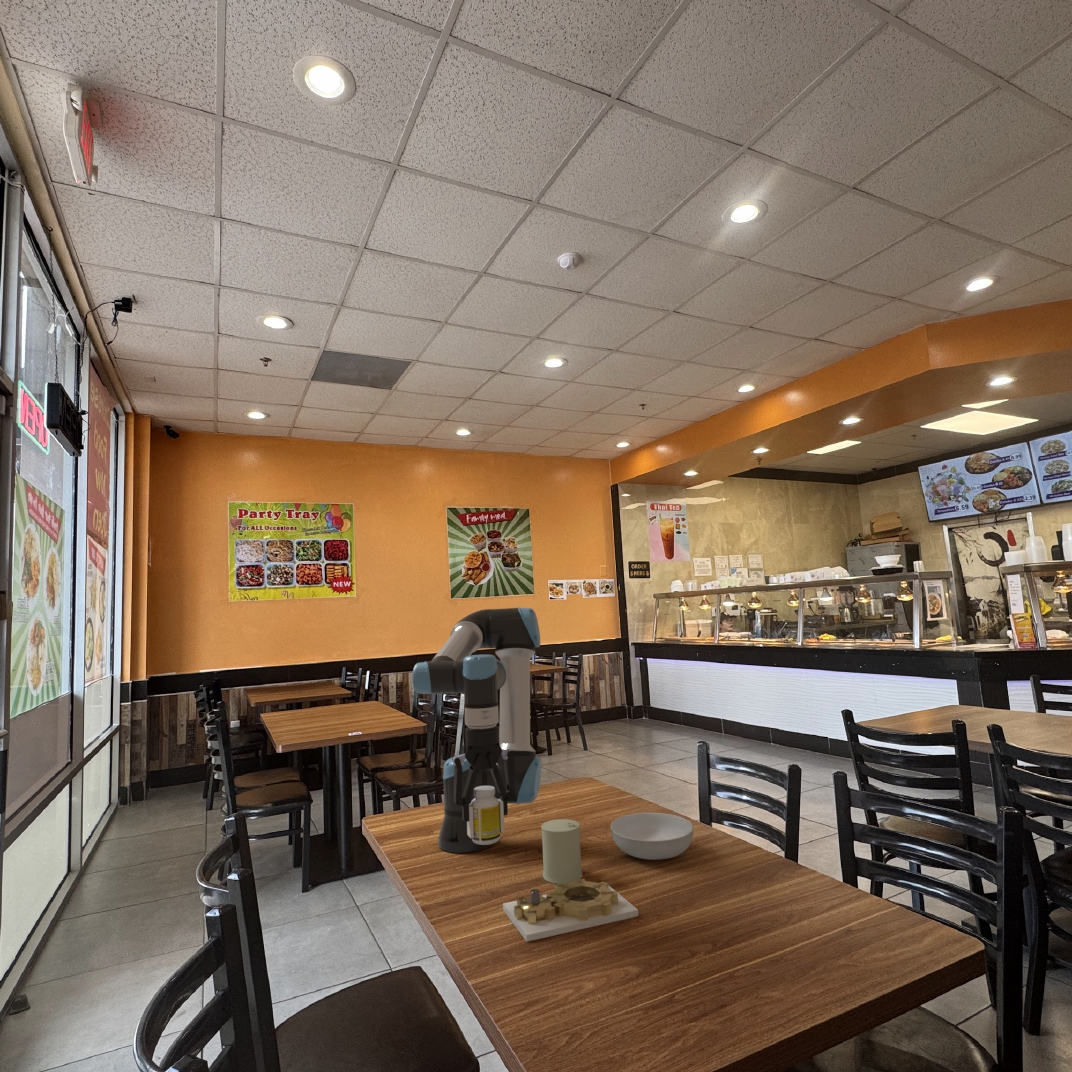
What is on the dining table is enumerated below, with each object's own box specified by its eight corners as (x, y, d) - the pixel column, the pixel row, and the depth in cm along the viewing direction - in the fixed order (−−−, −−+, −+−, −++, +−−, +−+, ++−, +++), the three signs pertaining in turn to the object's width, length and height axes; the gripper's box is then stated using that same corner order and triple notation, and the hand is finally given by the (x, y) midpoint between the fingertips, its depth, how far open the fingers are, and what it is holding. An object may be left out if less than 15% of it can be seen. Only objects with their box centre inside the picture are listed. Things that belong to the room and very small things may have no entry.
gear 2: (538, 896, 142) (537, 887, 142) (598, 884, 147) (597, 875, 147) (563, 925, 129) (563, 914, 129) (629, 911, 134) (628, 900, 134)
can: (579, 885, 150) (576, 830, 152) (539, 883, 152) (537, 829, 153) (584, 869, 159) (582, 817, 161) (547, 867, 161) (544, 816, 162)
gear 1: (509, 909, 137) (508, 887, 137) (548, 901, 140) (547, 879, 140) (522, 927, 129) (521, 903, 130) (563, 918, 132) (562, 894, 133)
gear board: (503, 909, 140) (502, 903, 140) (605, 888, 148) (605, 882, 148) (526, 941, 126) (526, 935, 126) (638, 916, 134) (638, 909, 134)
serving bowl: (601, 864, 162) (600, 835, 162) (623, 836, 181) (622, 809, 182) (687, 873, 154) (685, 843, 155) (700, 842, 173) (699, 815, 174)
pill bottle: (504, 836, 147) (502, 785, 148) (493, 846, 141) (491, 793, 142) (478, 834, 149) (477, 783, 150) (467, 844, 143) (465, 791, 144)
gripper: (443, 733, 140) (446, 846, 138) (528, 723, 147) (532, 831, 145) (435, 727, 147) (438, 835, 145) (517, 718, 154) (521, 821, 152)
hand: (485, 833), depth 145 cm, fingers closed on pill bottle, 6 cm apart
